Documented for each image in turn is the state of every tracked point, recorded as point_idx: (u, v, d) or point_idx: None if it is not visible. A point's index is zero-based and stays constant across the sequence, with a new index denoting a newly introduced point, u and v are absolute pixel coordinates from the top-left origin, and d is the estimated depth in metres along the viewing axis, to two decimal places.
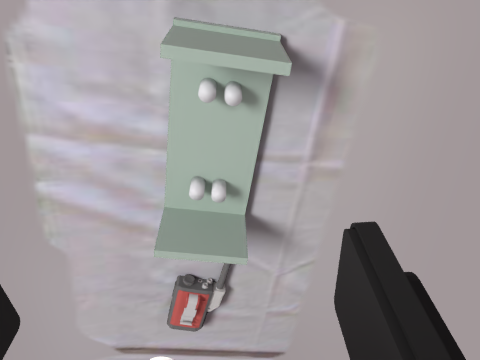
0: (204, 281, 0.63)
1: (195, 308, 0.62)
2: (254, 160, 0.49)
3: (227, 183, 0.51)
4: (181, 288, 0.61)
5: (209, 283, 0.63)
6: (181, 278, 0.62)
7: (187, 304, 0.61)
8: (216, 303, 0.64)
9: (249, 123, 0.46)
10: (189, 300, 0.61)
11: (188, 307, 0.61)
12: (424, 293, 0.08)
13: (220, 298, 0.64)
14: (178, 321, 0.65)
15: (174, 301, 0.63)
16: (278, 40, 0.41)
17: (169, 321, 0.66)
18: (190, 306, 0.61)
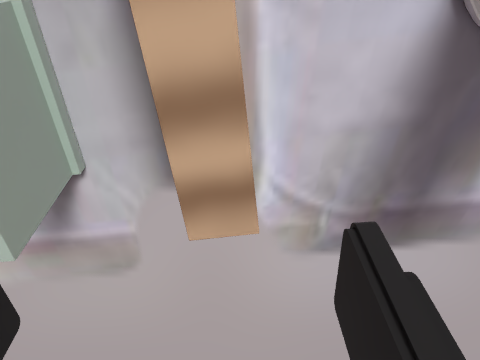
0: None
1: None
2: None
3: None
4: None
5: None
6: None
7: None
8: None
9: None
10: None
11: None
12: (425, 293, 0.08)
13: None
14: None
15: None
16: (73, 172, 0.27)
17: None
18: None
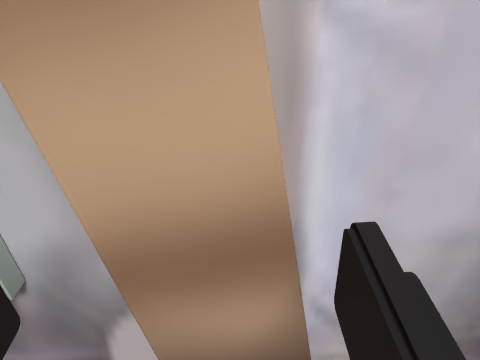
0: None
1: None
2: None
3: None
4: None
5: None
6: None
7: None
8: None
9: None
10: None
11: None
12: (424, 293, 0.08)
13: None
14: None
15: None
16: None
17: None
18: None
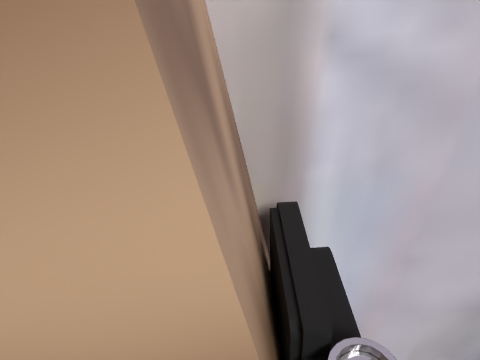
0: None
1: None
2: None
3: None
4: None
5: None
6: None
7: None
8: None
9: None
10: None
11: None
12: (334, 264, 0.09)
13: None
14: None
15: None
16: None
17: None
18: None
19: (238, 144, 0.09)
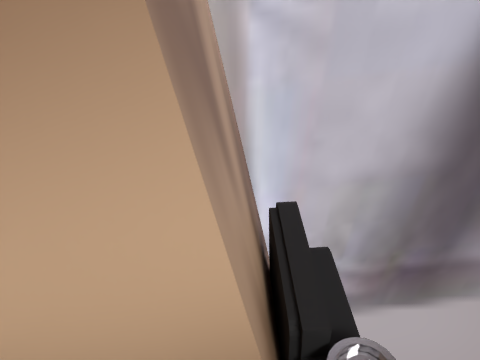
0: None
1: None
2: None
3: None
4: None
5: None
6: None
7: None
8: None
9: None
10: None
11: None
12: (333, 264, 0.09)
13: None
14: None
15: None
16: None
17: None
18: None
19: (239, 144, 0.09)
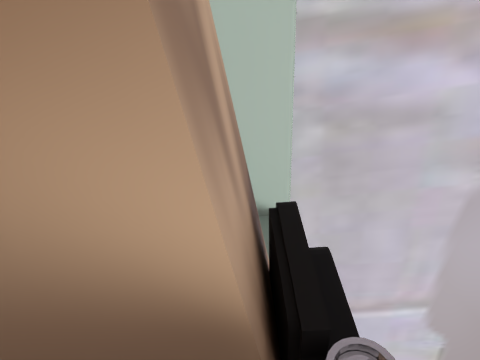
0: None
1: None
2: None
3: None
4: None
5: None
6: None
7: None
8: None
9: None
10: None
11: None
12: (333, 263, 0.09)
13: None
14: None
15: None
16: None
17: None
18: None
19: (240, 146, 0.09)
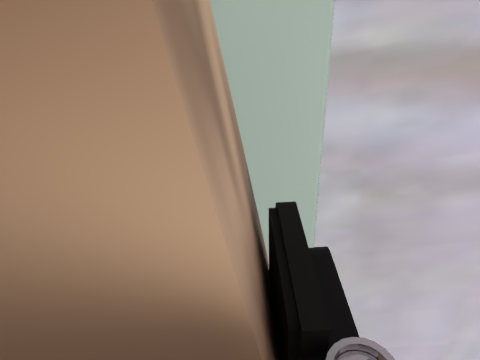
0: None
1: None
2: None
3: None
4: None
5: None
6: None
7: None
8: None
9: None
10: None
11: None
12: (333, 264, 0.09)
13: None
14: None
15: None
16: None
17: None
18: None
19: (240, 146, 0.09)
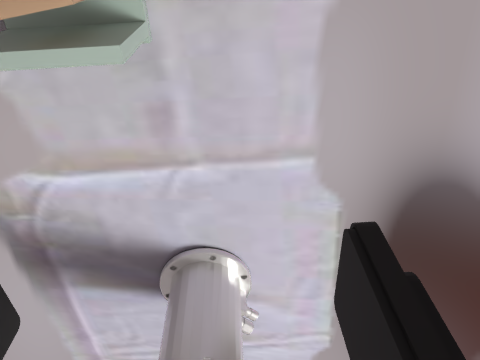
0: None
1: None
2: None
3: None
4: None
5: None
6: None
7: None
8: None
9: None
10: None
11: None
12: (424, 293, 0.08)
13: None
14: None
15: None
16: None
17: None
18: None
19: None
